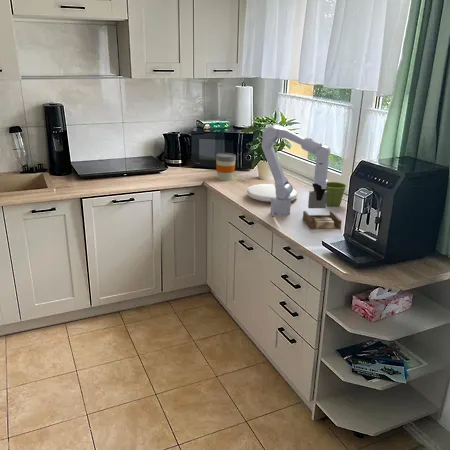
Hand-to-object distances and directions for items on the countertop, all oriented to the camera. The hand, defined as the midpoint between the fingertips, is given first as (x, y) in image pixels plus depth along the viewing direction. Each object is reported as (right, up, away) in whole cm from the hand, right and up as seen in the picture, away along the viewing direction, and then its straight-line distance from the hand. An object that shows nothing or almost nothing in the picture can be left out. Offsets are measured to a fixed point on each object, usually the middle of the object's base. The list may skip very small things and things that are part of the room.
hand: (318, 199), depth 221 cm
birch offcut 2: (+1, -13, -9) cm, 16 cm away
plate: (-18, +2, +36) cm, 40 cm away
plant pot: (+13, -2, +25) cm, 29 cm away
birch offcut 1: (+1, -12, -6) cm, 14 cm away
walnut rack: (+1, -12, -4) cm, 13 cm away
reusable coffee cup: (-44, +17, +71) cm, 85 cm away
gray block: (0, -4, +1) cm, 4 cm away
